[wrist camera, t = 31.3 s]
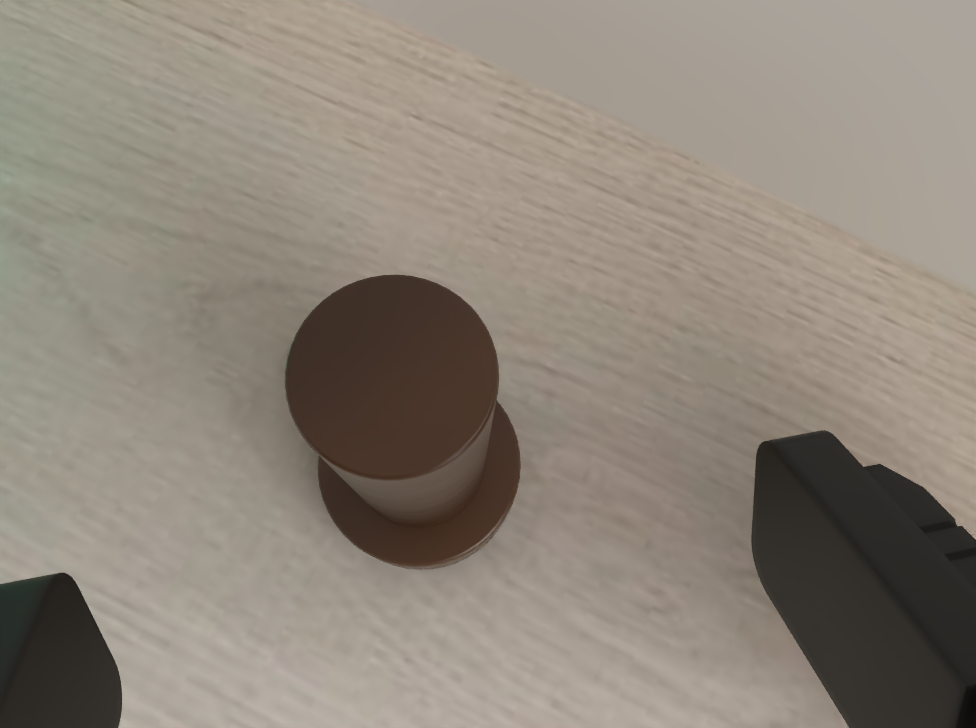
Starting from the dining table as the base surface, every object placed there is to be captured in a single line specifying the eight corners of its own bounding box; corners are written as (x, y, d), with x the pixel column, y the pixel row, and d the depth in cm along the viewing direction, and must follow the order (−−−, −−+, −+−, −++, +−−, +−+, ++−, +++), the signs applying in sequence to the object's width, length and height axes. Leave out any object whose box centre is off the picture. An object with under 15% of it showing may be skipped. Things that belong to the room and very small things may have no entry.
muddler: (552, 478, 20) (628, 379, 11) (417, 610, 19) (379, 622, 10) (428, 350, 21) (403, 158, 12) (292, 471, 20) (150, 366, 11)
